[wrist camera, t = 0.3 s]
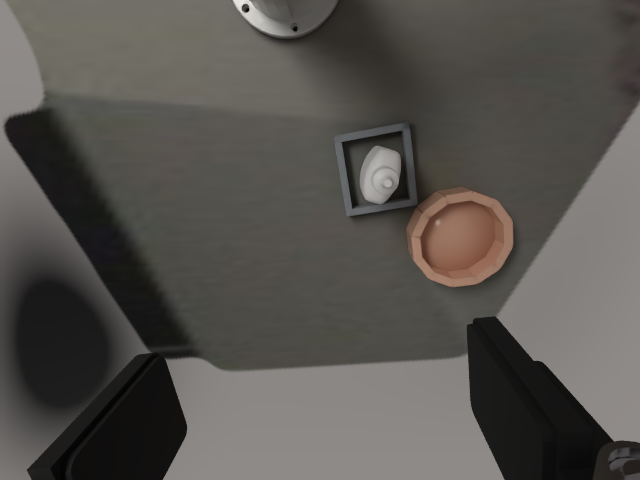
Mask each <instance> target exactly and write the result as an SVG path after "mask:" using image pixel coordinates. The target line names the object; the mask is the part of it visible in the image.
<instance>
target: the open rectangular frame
mask: <svg viewBox="0 0 640 480" xmlns="http://www.w3.org/2000/svg"><path fill="white" fill-rule="evenodd" d="M396 131H401V138H402V147H403V156H404V165H405V174H406V183H407V192H408V197H407V198H401V199H395V200H389V201H385V202H384V203H383V204H376V203H371V204H365V205H359V206H353V207H352V204H351V198H350V191H349V185H348V179H347V173H346V166H345V160H344V154H343V148H342V142H344V141H349V140H354V139H360V138H365V137H370V136H375V135H381V134H386V133H391V132H396ZM334 142H335V148H336V154H337V160H338V166H339V172H340V178H341V184H342V191H343V197H344V203H345V209H346V215H347V216H353V215H359V214H365V213H372V212H378V211H384V210H390V209H396V208H402V207H408V206H414V205H418V201H417V191H416V182H415V172H414V162H413V153H412V143H411V133H410V124H409V122H404V123H399V124H394V125H389V126H383V127H378V128H373V129H368V130H363V131H357V132H352V133H347V134H342V135H337V136H334Z"/></svg>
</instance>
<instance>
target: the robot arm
mask: <svg viewBox="0 0 640 480" xmlns="http://www.w3.org/2000/svg"><path fill="white" fill-rule="evenodd" d="M232 1H233V3H234V5H235V7H236V8H237V10H238V11H239V13H240V14H241V15H242V17H243V18H244V19H245V20H246V21H247V22H248V23H249V24H250V25H251V26H253V27H254V28H255V29H256V30H258V31H260V32H262V33H264V34H266V35H267V36H271V37H275V38H279V39H292V38H298V37H301V36H304V35H306V34H309V33H311V32H312V31H314V30H315V29H317V28H318V27H320V26H321V25H322V24H323V23H324V22H325V21H326V20H327V19H328V18H329V16H330V15H331V13H332V12H333V10H334V9H335V7H336V5H337V3H338V1H339V0H232ZM246 9H249V12H248V13H246ZM295 27H297V28H298V30H297V31H296V32H295V31H293V29H294V28H295ZM467 342H468V361H469V379H470V380H469V382H470V401H471V407H472V410H473V413H474V416H475V418H476V420H477V422H478V424H479V426H480V428H481V431H482V432H483V435H484V437H485V439H486V441H487V443H488V445H489V448H490V449H491V451H492V454H493V456H494V458H495V460H496V462H497V464H498V466H499V468H500V471H501V473H502V475H503V477H504V479H505V480H640V443H638V442H631V441H616V442H614V441H613V440H612V439H611V438H610V436H609V435H608V434H607V433H606V432H605V431H604V430H603V429H602V427H601V426H600V425H599V424H598V423H597V422H596V421H595V420H594V419H593V417H592V416H591V415H590V414H589V413H588V412H587V411H586V410H585V409H584V407H583V406H582V405H581V404H580V403H579V402H578V401H577V400H576V398H575V397H574V396H573V395H572V394H571V393H570V392H569V391H568V389H567V388H566V387H565V386H564V385H563V384H562V383H561V382H560V381H559V379H558V378H557V377H556V376H555V375H554V374H553V373H552V372H551V371H550V369H549V368H548V367H547V366H546V365H545V364H544V363H543V362H540V361H533V360H532V358H531V357H530V356H529V355H528V354H527V353H526V351H525V350H524V349H523V348H522V347H521V346H520V344H519V343H518V342H517V341H516V340H515V339H514V337H513V336H512V335H511V334H510V333H509V332H508V330H507V329H506V328H505V327H504V326H503V325H502V323H501V322H500V321H499V320H498V319H497V318H496V317H485V318H475V319H474V320H473V324H468V325H467ZM186 433H187V424H186V421H185V417H184V414H183V411H182V408H181V405H180V402H179V399H178V396H177V394H176V390H175V387H174V384H173V381H172V378H171V375H170V372H169V369H168V366H167V363H166V360H165V359H164V358H163V357H161V356H160V355H159V354H158V353H148V354H140V355H137V356H136V357H134V359H133V360H132V361H131V362H130V363H129V364H128V365H127V366H126V367H125V368H124V369H123V370H122V371H121V372H120V373H119V374H118V375H117V376H116V378H114V379H113V381H112V382H111V383H110V384H109V385H108V386H107V387H106V388H105V389H104V390H103V391H102V392H101V393H100V394H99V395H98V396H97V397H96V398H95V399H94V400H93V401H92V402H91V403H90V405H89V406H88V407H87V408H86V409H85V410H84V411H83V412H82V413H81V414H80V415H79V416H78V417H77V418H76V419H75V420H74V421H73V422H72V423H71V424H70V425H69V426H68V427H67V429H66V430H65V431H64V432H63V433H62V434H61V435H60V436H59V437H58V438H57V439H56V440H55V441H54V442H53V443H52V444H51V445H50V446H49V447H48V448H47V450H45V452H44V453H43V454H42V455H41V456H40V457H39V458H38V459H37V460H36V461H35V462H34V463H33V464H32V465H31V466H30V467H29V468H28V469H27V471H28V473H29V475H30V477H31V479H32V480H163V478H164V476H165V475H166V473H167V471H168V469H169V467H170V465H171V463H172V461H173V459H174V458H175V456H176V454H177V452H178V450H179V448H180V446H181V444H182V442H183V441H184V439H185V436H186Z"/></svg>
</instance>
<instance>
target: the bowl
mask: <svg viewBox="0 0 640 480" xmlns="http://www.w3.org/2000/svg"><path fill="white" fill-rule="evenodd" d="M406 234H407V242H408V251H409V253H410V254H411V256H412V258H413V260H414V261H415V263H416V264H417V265H418V266H419V268H420V269H421V270H422V271H423V272H424V274H425V275H426V276H427V277H428V279H430V280H433V281H436V282H439V283H441V284H444V285H447V286H450V287H459V286H466V285H473V284H477V282H478V283H480V282H482V281H483V280H485V279H486V278H488V277H489V276H491V275H492V274H494V273H495V272H497V271H498V270H500V269H499V268H501V267H502V265H503V264H504V262H505V260H506V258H507V257H508V255H509V253H510V251H511V250H512V248H513V221H512V219H511V218H510V216H509V215H508V214H507V212H506V211H505V210H504V208H503V207H502V205H501V204H500V203H499V201H497V200H496V199H493V198H491V197H488V196H486V195H484V194H481V193H478V192H476V191H473V190H470V189H468V188H465V187H457V188H451V189H445V190H439V191H437V192H435V193H433V194H432V195H431V196H429V197H428V198H427V199H425V200H424V201H423V202H421V203H420V204H419V205H417V207H416V208H415V210H414V212H413V214H412V216H411V219H410V221H409V223H408V225H407V228H406Z"/></svg>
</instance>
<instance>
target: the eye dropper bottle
mask: <svg viewBox="0 0 640 480" xmlns="http://www.w3.org/2000/svg"><path fill="white" fill-rule="evenodd" d="M400 173H401V157H400V154H399V153H398V152H396V151H394V150H391V149H388V148H385V147H381V146H375V147H373V148H372V149H371V151H370V152H369V153H368V155H367V156H366V158H365V160H364V162H363V165H362V168H361V173H360V188H361V191H362V194H363V196H364V198H365V199H366V200H367V201H369V202H372V203H376V204H383V203H384V202H385V201H386V200H387V199H388V198H389V197H390V196H391V195H392V193H393V192H394V191H395V190H396V189H397V186H398V184H399V177H400Z"/></svg>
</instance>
